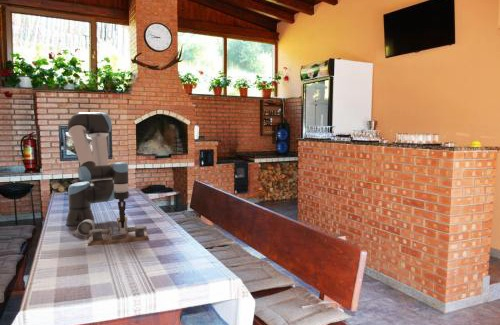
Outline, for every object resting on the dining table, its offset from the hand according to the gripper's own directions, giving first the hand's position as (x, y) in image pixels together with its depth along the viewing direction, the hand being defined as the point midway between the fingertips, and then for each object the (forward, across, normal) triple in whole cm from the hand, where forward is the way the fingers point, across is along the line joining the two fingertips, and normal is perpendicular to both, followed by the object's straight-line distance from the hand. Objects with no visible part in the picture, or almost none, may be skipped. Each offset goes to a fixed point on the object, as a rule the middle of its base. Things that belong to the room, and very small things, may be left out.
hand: (122, 230), depth 211 cm
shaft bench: (0, -16, +2) cm, 16 cm away
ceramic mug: (0, -1, +19) cm, 19 cm away
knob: (0, 0, 0) cm, 0 cm away
